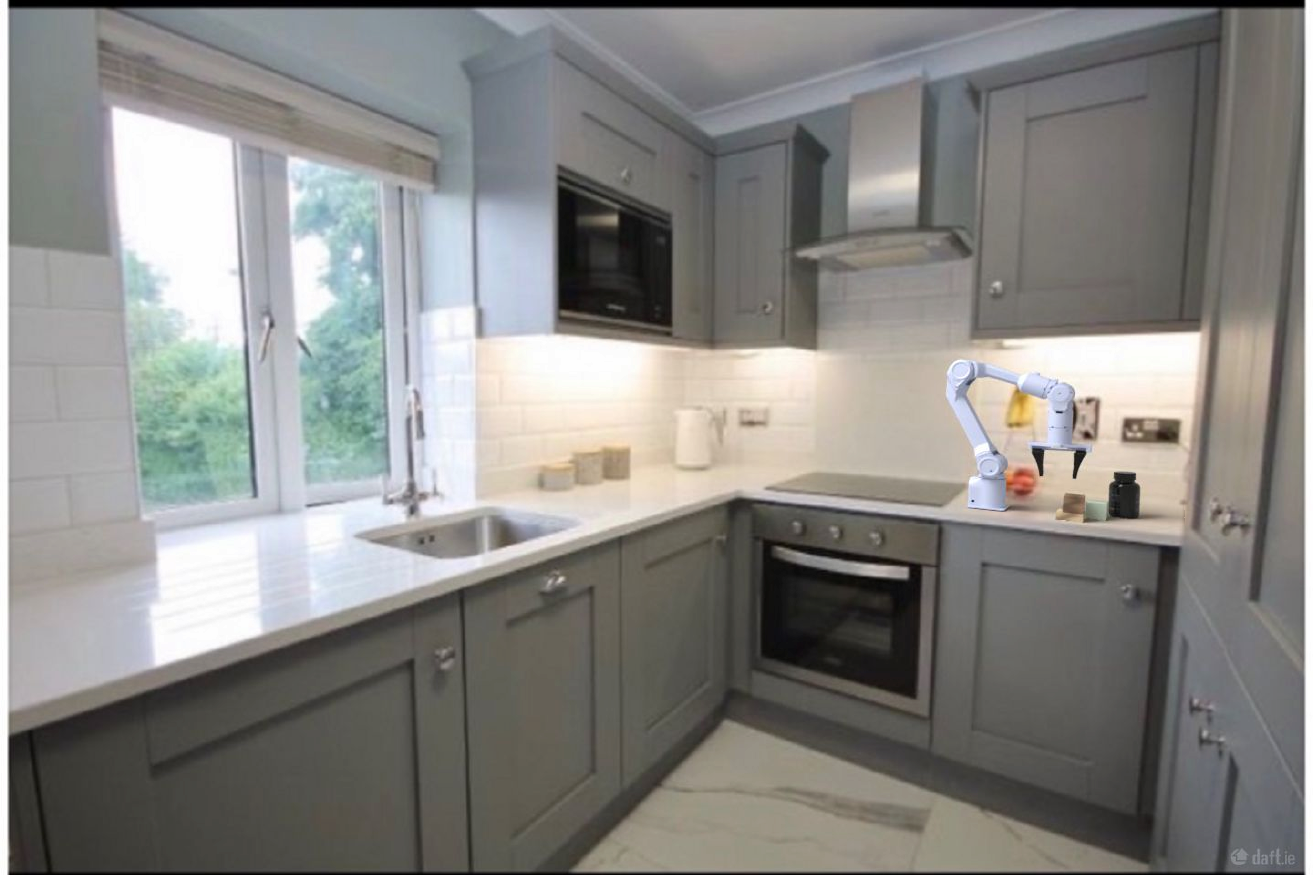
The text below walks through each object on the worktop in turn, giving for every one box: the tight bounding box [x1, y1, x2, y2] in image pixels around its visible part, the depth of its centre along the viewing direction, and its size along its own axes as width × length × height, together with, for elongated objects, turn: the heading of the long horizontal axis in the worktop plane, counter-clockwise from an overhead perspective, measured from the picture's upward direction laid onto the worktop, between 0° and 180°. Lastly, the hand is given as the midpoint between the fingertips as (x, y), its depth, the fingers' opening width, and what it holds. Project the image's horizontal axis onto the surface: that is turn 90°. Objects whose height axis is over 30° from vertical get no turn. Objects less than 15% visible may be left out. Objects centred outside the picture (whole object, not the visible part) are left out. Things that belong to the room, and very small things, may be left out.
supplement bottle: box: [1107, 471, 1141, 520], centre depth 169 cm, size 7×7×12 cm
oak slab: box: [1055, 508, 1086, 524], centre depth 166 cm, size 6×6×2 cm
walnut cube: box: [1062, 492, 1086, 515], centre depth 166 cm, size 4×4×4 cm
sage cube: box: [1085, 499, 1109, 522], centre depth 167 cm, size 4×4×4 cm
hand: (1057, 477), depth 171 cm, fingers open, 7 cm apart
